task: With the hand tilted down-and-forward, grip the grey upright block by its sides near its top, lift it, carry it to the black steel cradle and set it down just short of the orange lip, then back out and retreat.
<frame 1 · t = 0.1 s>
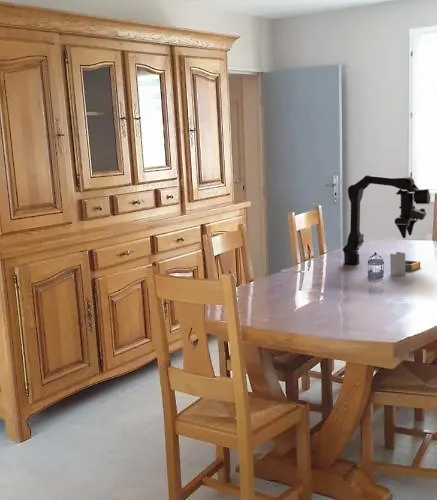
hand: (407, 236, 310), 14 cm above the table, tool pointing down, fingers open, 9 cm apart
grey upright block: (398, 274, 295), on the table
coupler: (406, 268, 307), on the table
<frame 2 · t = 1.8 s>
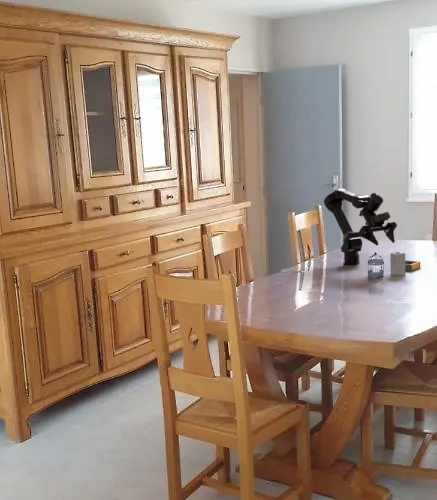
hand: (385, 243, 301), 13 cm above the table, tool tilted 45°, fingers open, 9 cm apart
nothing on the table moved.
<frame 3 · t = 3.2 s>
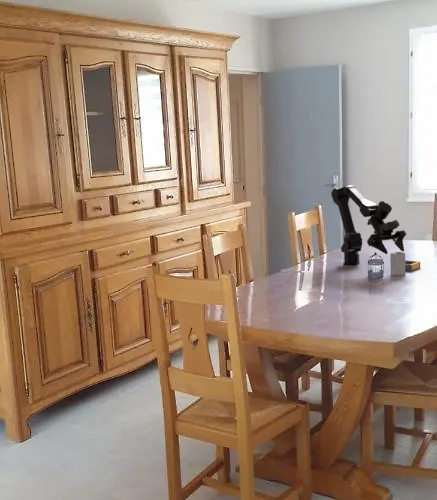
hand: (395, 252, 295), 10 cm above the table, tool tilted 45°, fingers open, 9 cm apart
nothing on the table moved.
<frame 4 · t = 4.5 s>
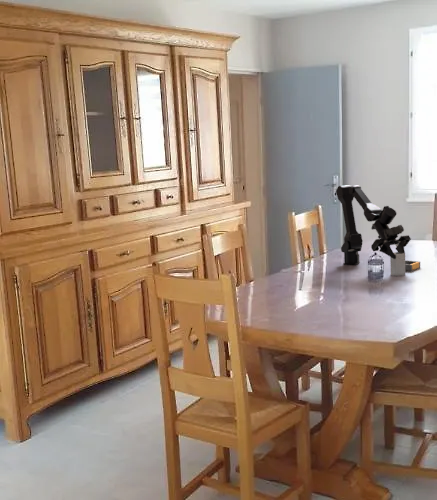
hand: (399, 257, 293), 8 cm above the table, tool tilted 45°, fingers closed on grey upright block, 5 cm apart
grey upright block: (398, 274, 295), on the table, touching gripper
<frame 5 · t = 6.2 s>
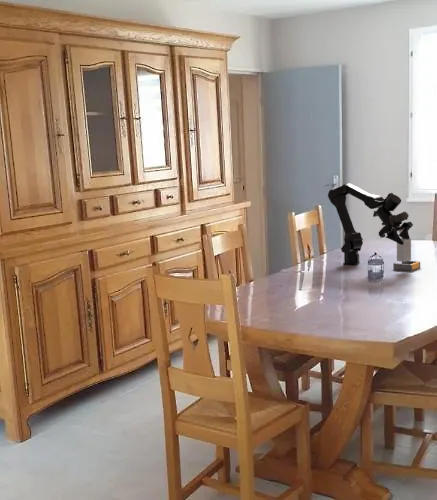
hand: (406, 243, 298), 13 cm above the table, tool tilted 45°, fingers closed on grey upright block, 5 cm apart
grey upright block: (403, 260, 301), point 5 cm above the table, touching gripper
when the fingers open (10 cm above the table, at t = 7.9 s): grey upright block drops 1 cm, resting on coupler.
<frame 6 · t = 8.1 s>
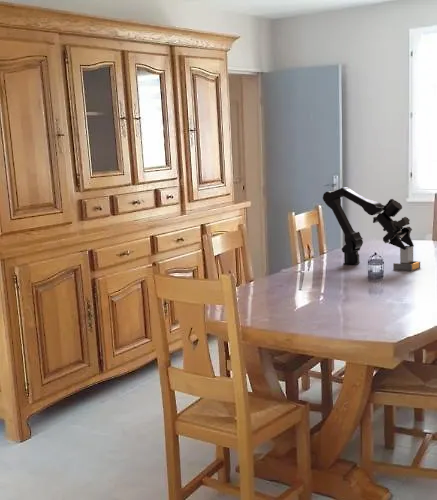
hand: (409, 248, 304), 10 cm above the table, tool tilted 45°, fingers open, 7 cm apart
grey upright block: (406, 267, 307), point 1 cm above the table, touching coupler
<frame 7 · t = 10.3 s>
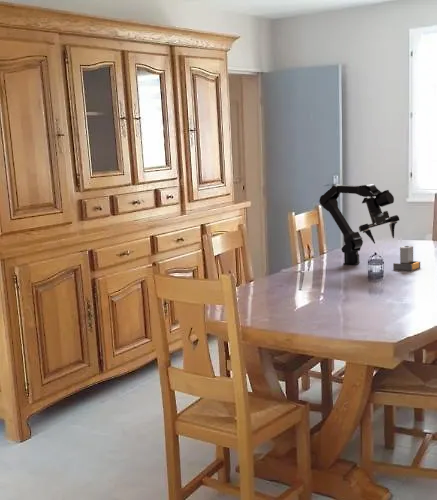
hand: (384, 240, 312), 13 cm above the table, tool tilted 20°, fingers open, 9 cm apart
nothing on the table moved.
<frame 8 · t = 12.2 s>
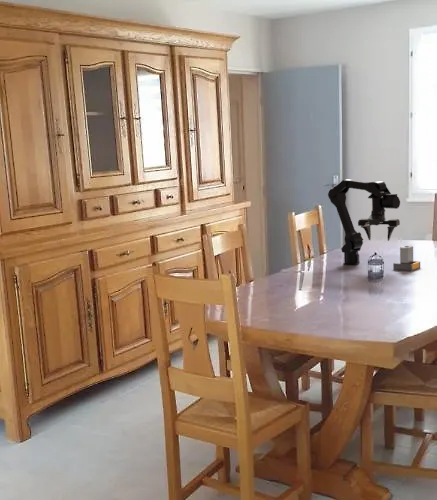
hand: (379, 240, 313), 13 cm above the table, tool pointing down, fingers open, 9 cm apart
nothing on the table moved.
at the end: grey upright block 0.0 cm from the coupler (horizontally); grey upright block tilted 0°; the gripper is holding nothing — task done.
